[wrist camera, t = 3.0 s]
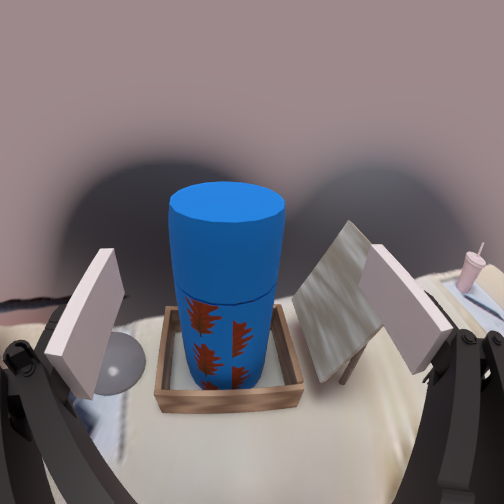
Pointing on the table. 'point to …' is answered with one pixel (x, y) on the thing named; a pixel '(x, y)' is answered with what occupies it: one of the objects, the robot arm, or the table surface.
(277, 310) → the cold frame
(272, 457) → the table surface
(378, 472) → the table surface
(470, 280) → the smoothie
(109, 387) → the disc
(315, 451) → the table surface
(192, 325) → the thermos
